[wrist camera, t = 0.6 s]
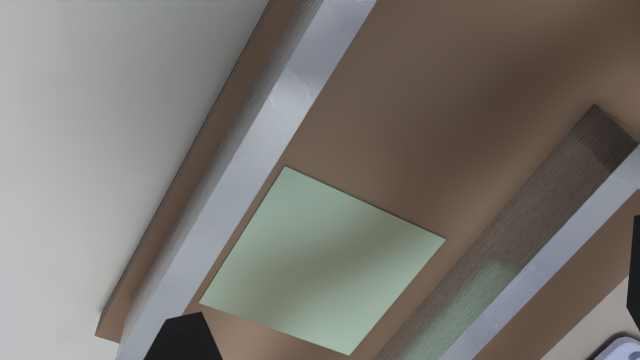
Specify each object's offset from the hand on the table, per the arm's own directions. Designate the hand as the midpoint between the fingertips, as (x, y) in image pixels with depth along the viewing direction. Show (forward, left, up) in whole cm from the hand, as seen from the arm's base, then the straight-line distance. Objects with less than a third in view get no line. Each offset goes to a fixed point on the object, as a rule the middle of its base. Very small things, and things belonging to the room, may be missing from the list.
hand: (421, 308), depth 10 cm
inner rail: (-9, +3, -8) cm, 12 cm away
